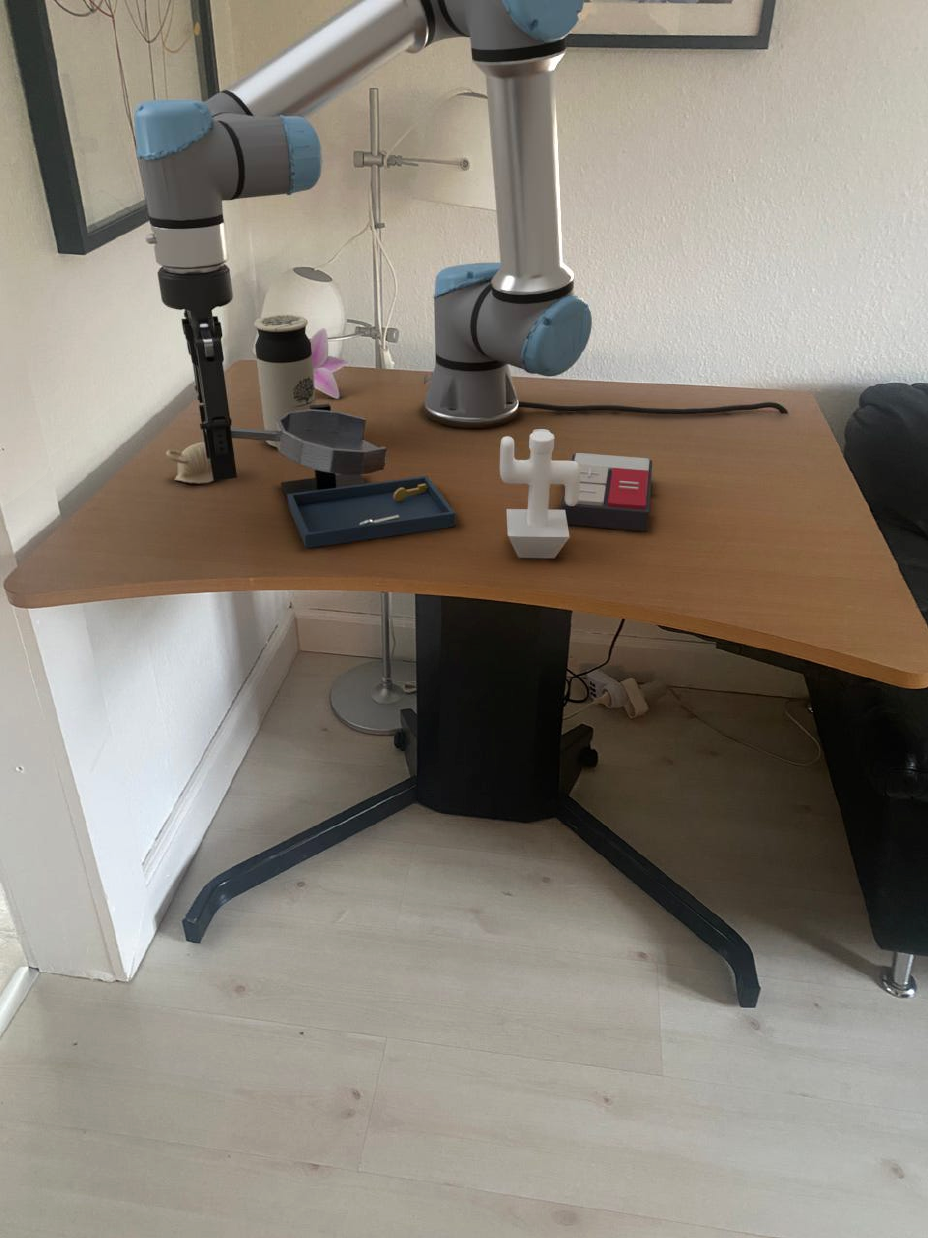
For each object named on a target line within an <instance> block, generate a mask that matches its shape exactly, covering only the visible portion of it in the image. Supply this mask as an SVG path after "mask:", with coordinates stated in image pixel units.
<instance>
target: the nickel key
mask: <svg viewBox="0 0 928 1238" xmlns="http://www.w3.org/2000/svg"><path fill="white" fill-rule="evenodd" d="M397 519H399V515H395V516H391V517H387V518H382V519H378V520H374V521H372V520H365V521H363V522H361V523H360V524H359V525H362V524H369V523H376V522H383V521H390V520H397Z"/></svg>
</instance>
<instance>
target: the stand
mask: <svg viewBox="0 0 928 1238" xmlns="http://www.w3.org/2000/svg"><path fill="white" fill-rule="evenodd" d="M309 408H310V409H315V410H326V411H332V406H331V404H330V403H321V404H316V405H312V406H309ZM365 480H366V479H364V477H363V474H359V475H345V474H335V473H328V472H323V471H318V470H314V477H311V478H303V479H295V480H288V481H281V482H280V485H281V490H282V492H283V496H284V497H285V501H286V503H288V495H287V494H292V493H300V492H307V491H315V490H322V489H330V488H338V487H345V486H353V485H360V484H367V482H366V481H365Z"/></svg>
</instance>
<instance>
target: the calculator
mask: <svg viewBox="0 0 928 1238" xmlns="http://www.w3.org/2000/svg"><path fill="white" fill-rule="evenodd" d="M570 461H574V462H576V463H577V464H578V465H579V468H580V486H579V499H578V503H577V504H576V505H575V506H569V505H567V504H566V502H565V490H564V492H563V496H562V500H561V509H560V510H565V513H566V519H567V525H568V526H576V527H577V526H579V527H586V528H587V527H589V528H599V529H610V530H611V529H612V530H622V531H632V532H642V533H643V532H646V531H647V530H648V524H649V516H650V504H651V492H652V491H651V489H652V478H653V477H652V476H653V460H652V459H649V458H647V457H634V456H623V455H622V456H621V455H609V454H598V453H597V454H596V453H586V452H585V453H584V452H576V453H574V454H572V457H571V460H570Z"/></svg>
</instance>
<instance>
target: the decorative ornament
mask: <svg viewBox="0 0 928 1238" xmlns="http://www.w3.org/2000/svg"><path fill="white" fill-rule="evenodd" d="M165 453H166V456H167V457H168V458H169V459H170V460H172V461H174V462H176V463H177V474H176V476H175V478H174V481H179V482H183V483H188V484H198V485H199V484H209V483H211V482H215V481H214V480H213V476H212V469H211V462H210V458H209V459H207V456H206V449H205V442H204V441H200V442H197V443H193V444H190V445H189V446H187V447H186V448H185V449H183V451H182V452H181V451H179V450H176V449H168V450H167V451H166V452H165ZM174 455H176V456H174ZM177 456H178V457H177Z"/></svg>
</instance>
